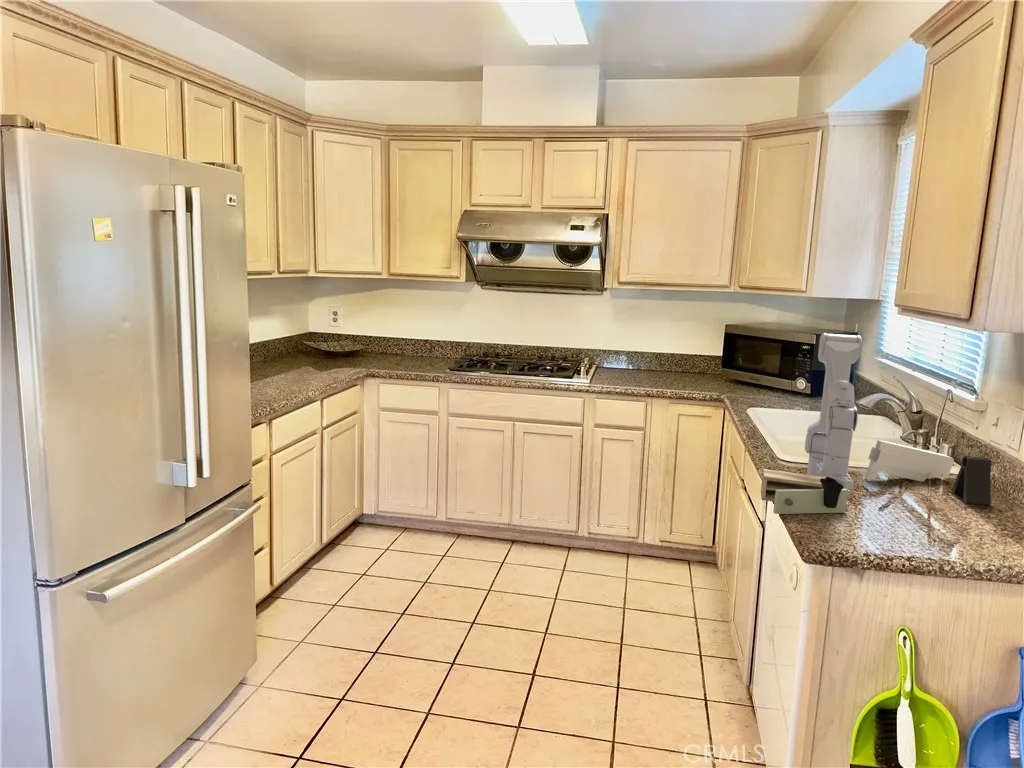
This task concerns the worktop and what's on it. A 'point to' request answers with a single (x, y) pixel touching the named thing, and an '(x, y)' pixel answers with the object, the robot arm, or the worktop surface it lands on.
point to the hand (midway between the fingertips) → (829, 506)
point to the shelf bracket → (907, 462)
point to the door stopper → (973, 481)
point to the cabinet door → (807, 501)
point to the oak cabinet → (786, 482)
